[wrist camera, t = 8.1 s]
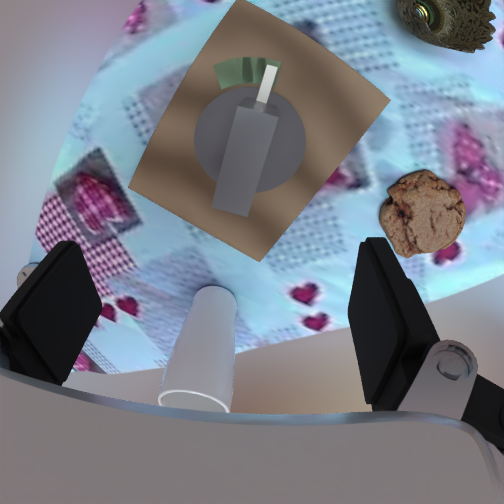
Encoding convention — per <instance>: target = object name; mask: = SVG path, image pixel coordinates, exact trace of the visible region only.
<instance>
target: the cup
mask: <svg viewBox="0 0 504 504" xmlns="http://www.w3.org/2000/svg"><path fill="white" fill-rule="evenodd" d="M490 5H491V0H396V7H397V11H398V14H399V17H400V19H401V21H402V22H403V24H404V25H405V26H406V28H407V29H408V30H409V31H410V32H411V33H412V34H414V35H415V36H416V37H418V38H419V39H421V40H423V41H425V42H427V43H429V44H432V45H435V46H439V47H444V48H448V49H453V50H457V51H462V52H467V53H474V52H475V50H476V49H478V50H483V49H485V47H484V45H482V44H485V43H487V42H489V41H491V40H492V39H493V37H491V35H492V34H493V33H494V32H495V31H496V29H495V28H494V26H493V25H492V24H490V23H489V21H491V20H493V19H496V17H495V15H494V14H493V13H492V12H489V7H490ZM416 8H417V9H418V10H419V11H420V12H421V13H422V17H421V16H420V14H419V12H418V11H417V9H416Z"/></svg>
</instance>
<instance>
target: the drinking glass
mask: <svg viewBox="0 0 504 504" xmlns="http://www.w3.org/2000/svg"><path fill="white" fill-rule="evenodd" d="M236 311H237V302H236V299H235V297H234V296H233V294H232V293H231V292H229V291H228V290H226V289H225V288H222V287H219V286H206V287H203V288H201V289H200V290H198V291H197V292H196V294H195V295H194V297H193V300H192V304H191V307H190V309H189V312H188V314H187V317H186V319H185V321H184V324H183V326H182V328H181V331H180V333H179V335H178V338H177V340H176V343H175V345H174V347H173V350H172V352H171V355H170V357H169V360H168V362H167V365H166V368H165V371H164V375H163V378H162V382H161V386H160V391H159V395H158V403H159V405H160V406H164V407H172V408H180V409H189V410H199V411H210V412H223V413H230V407H231V401H232V395H233V387H234V373H235V371H234V370H235V323H236Z"/></svg>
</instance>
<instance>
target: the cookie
mask: <svg viewBox="0 0 504 504" xmlns="http://www.w3.org/2000/svg"><path fill="white" fill-rule="evenodd" d="M396 183H397V182H396ZM387 193H388V195H389V196H390V197H389V198H387V199H386V202H385V203H384V204H383V206H382V207H381V210H380V218H379V222H380V224H381V226H382V228H383V230H384V232H385V233H386V236H387V238H388V239H389V240H390V242H391V243H392V244H393V247H394V251H395V252H396V253H397V254H398V255H401V256H403V257H405V258H409V257H411V256H413V255H414V254H421V252H422V253H431V252H435V251H437V250H438V249H446V248H447V247H448V246H450V245H451V244H452V243H454V242H455V240H456V239H457V237H458V236H459V234H460V233H461V231H462V229H463V226H464V223H465V216H466V208H465V204H464V202H463V201H462V199H461V194H460V192H459V191H458V190H457V189H456V188H454V189H450V187H449V185H448V184H447V183H445V182H444V181H443V180H440V179H438V178H437V176H436V175H435V174H433V173H432V172H430V171H428V170H424V171H421V172H416V173H414V174H411V175H407V176H406V177H403V178H401V179H400V180H399V181H398V183H397V184H396V185H393V186H392V187H391V188H388V192H387Z"/></svg>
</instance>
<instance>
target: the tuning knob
mask: <svg viewBox="0 0 504 504" xmlns="http://www.w3.org/2000/svg"><path fill="white" fill-rule="evenodd" d="M277 68H278V67H275V66H271V65H267V67H266V70H265V73H264V77H263V80H262V83H261V86H260V87H241V88H236V89H233V90H230V91H227V92H225V93H223V94H221V95H220V96H218V97H217V98H215V99H214V100H213V101H211V102H210V103H209V104H208V105H207V107H206V108H205V109H204V110H203V112H202V113H201V115H200V117H199V119H198V121H197V124H196V128H195V133H194V146H195V151H196V155H197V158H198V160H199V162H200V164H201V166H202V168H203V169H204V170H205V172H206V173H207V174H208V175H209V176H210V177H211V178H212V179H213V180H214V181H216V182H217V186H216V190H215V194H214V198H213V202H212V206H211V207H212V208H216V209H219V210H223V211H227V212H231V213H234V214H238V215H242V216H245V217H248V213H249V210H250V207H251V204H252V201H253V197H254V194H255V193H259V192H265V191H268V190H271V189H274V188H276V187H278V186H280V185H281V184H283V183H284V182H286V181H287V180H288V179H289V178H290V177H291V176H292V175H293V174H294V173H295V172H296V170H297V169H298V167H299V166H300V164H301V162H302V159H303V156H304V153H305V147H306V135H305V129H304V126H303V123H302V121H301V118H300V116H299V115H298V113H297V111H296V110H295V108H294V107H293V106H292V105H291V104H290V103H289V102H288V101H287V100H286V99H285V98H283V97H282V96H280V95H279V94H277V93H275V92H273V91H271V87H272V84H273V81H274V78H275V75H276V72H277Z"/></svg>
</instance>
